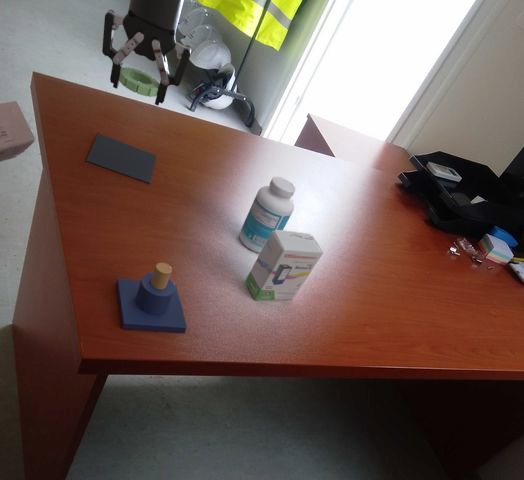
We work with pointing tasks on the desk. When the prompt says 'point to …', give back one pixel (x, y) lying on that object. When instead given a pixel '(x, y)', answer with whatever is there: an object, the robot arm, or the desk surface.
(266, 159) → the desk surface
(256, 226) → the pill bottle
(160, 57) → the robot arm
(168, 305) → the stand
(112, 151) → the mat
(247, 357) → the desk surface
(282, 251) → the ink box
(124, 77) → the ring
